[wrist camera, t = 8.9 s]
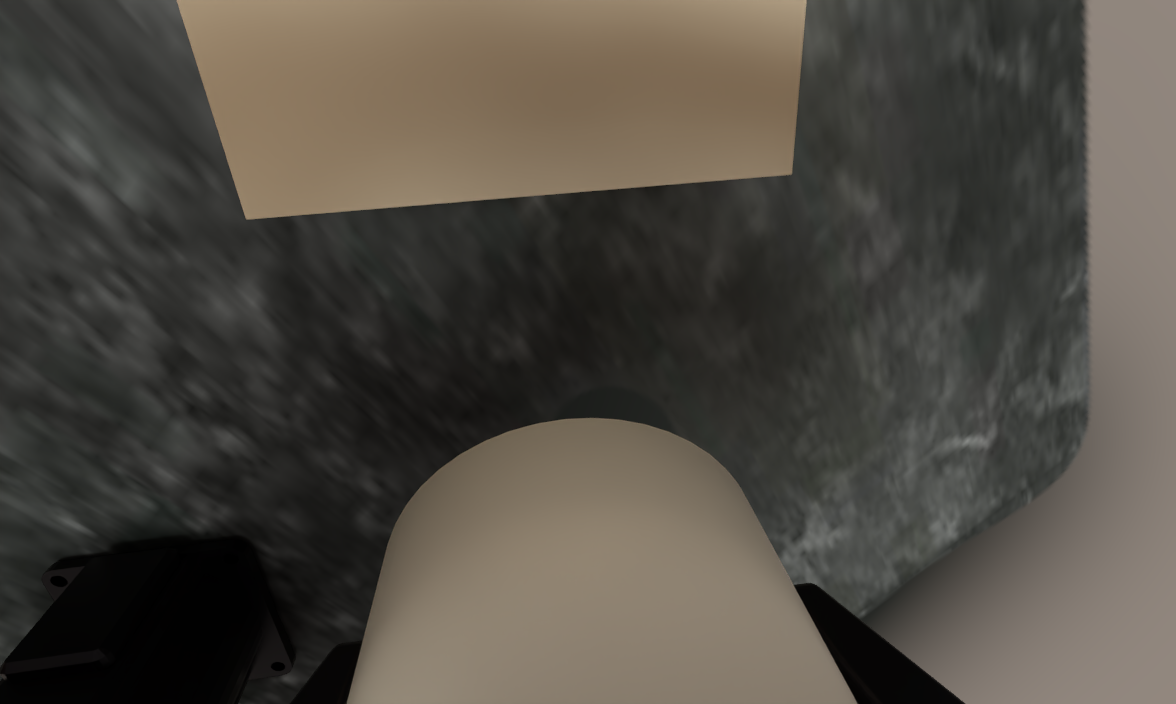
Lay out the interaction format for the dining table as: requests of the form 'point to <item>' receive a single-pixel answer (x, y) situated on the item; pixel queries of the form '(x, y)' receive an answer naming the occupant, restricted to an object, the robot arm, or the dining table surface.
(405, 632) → the beige tapered cylinder
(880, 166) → the dining table surface
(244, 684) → the robot arm
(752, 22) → the box lid
